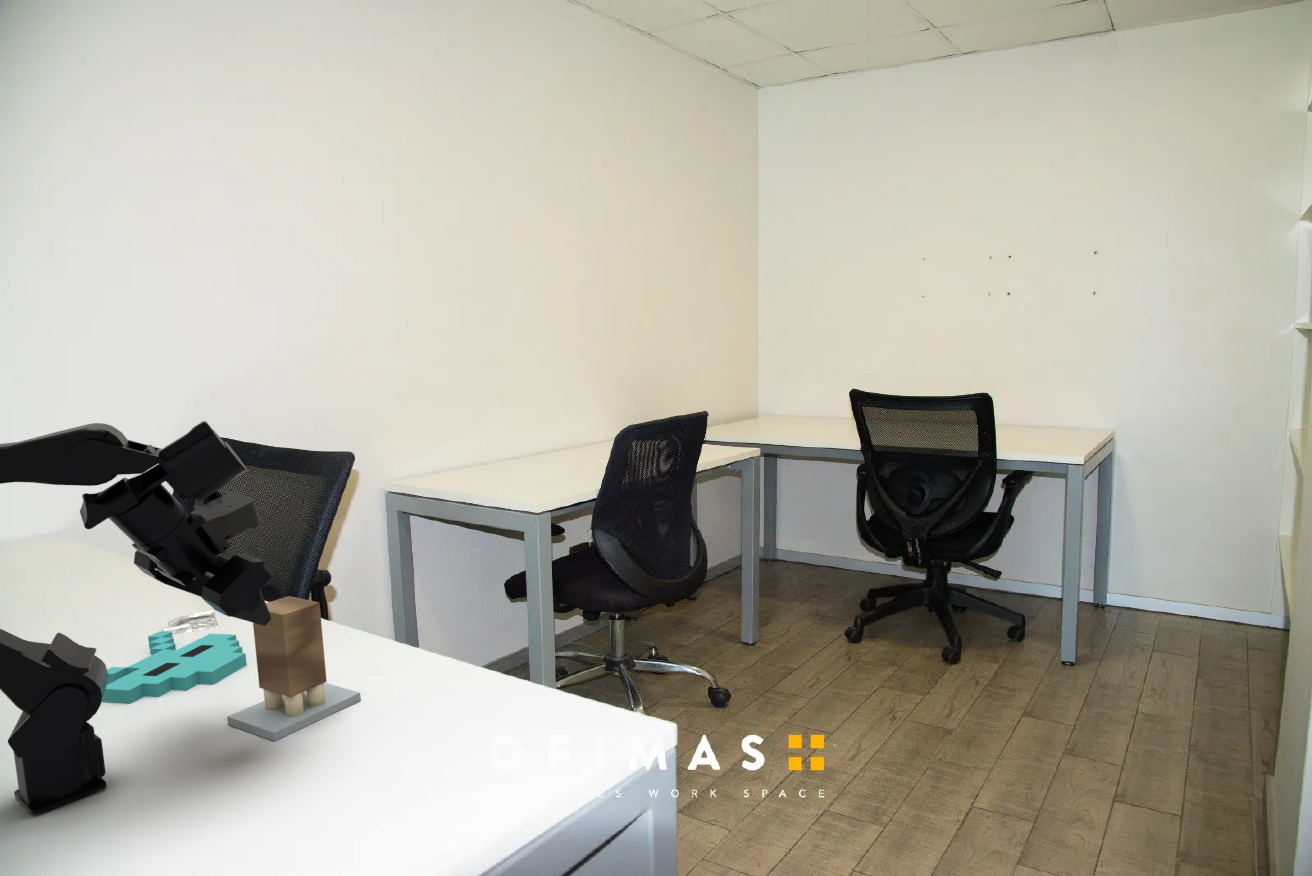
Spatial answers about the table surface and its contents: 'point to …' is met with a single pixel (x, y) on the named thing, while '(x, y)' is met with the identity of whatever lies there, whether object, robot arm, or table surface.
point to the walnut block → (290, 647)
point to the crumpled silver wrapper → (191, 623)
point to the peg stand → (292, 710)
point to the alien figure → (175, 667)
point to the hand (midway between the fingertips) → (244, 610)
